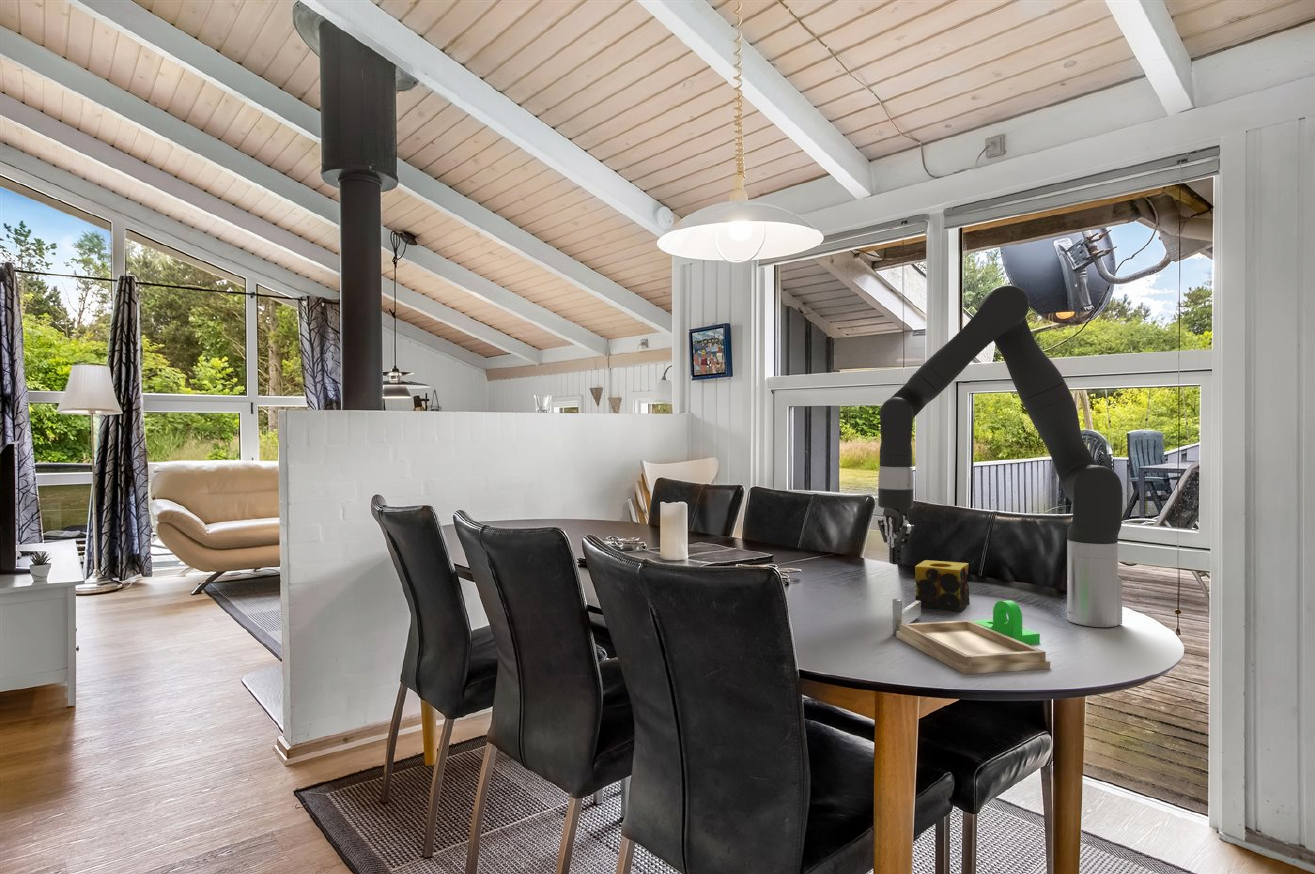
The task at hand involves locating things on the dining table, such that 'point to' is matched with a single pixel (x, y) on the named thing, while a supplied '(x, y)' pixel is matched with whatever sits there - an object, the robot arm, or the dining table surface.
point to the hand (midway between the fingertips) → (895, 563)
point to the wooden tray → (972, 647)
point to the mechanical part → (1009, 623)
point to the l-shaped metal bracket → (904, 613)
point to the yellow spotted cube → (942, 585)
